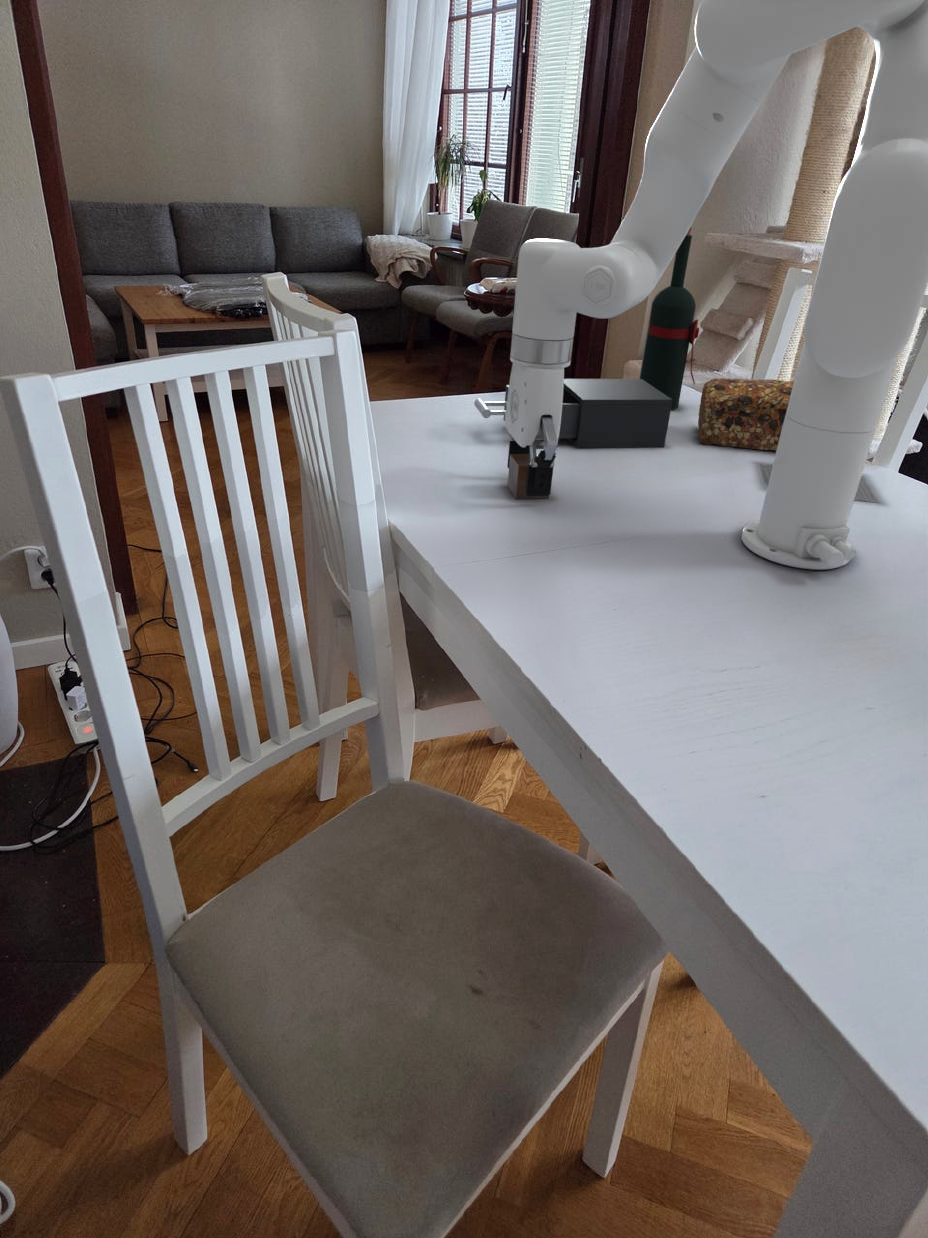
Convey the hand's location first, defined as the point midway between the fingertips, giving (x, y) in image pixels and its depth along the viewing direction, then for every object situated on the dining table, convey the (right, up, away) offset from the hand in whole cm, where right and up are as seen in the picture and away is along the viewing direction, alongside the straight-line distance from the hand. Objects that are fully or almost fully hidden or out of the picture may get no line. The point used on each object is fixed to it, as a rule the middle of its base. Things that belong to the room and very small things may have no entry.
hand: (527, 481), depth 110 cm
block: (0, -1, +1) cm, 1 cm away
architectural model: (+43, +1, +10) cm, 44 cm away
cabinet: (+15, +12, +25) cm, 31 cm away
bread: (+39, +11, +26) cm, 48 cm away
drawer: (+3, +12, +22) cm, 25 cm away
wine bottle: (+28, +21, +43) cm, 55 cm away
